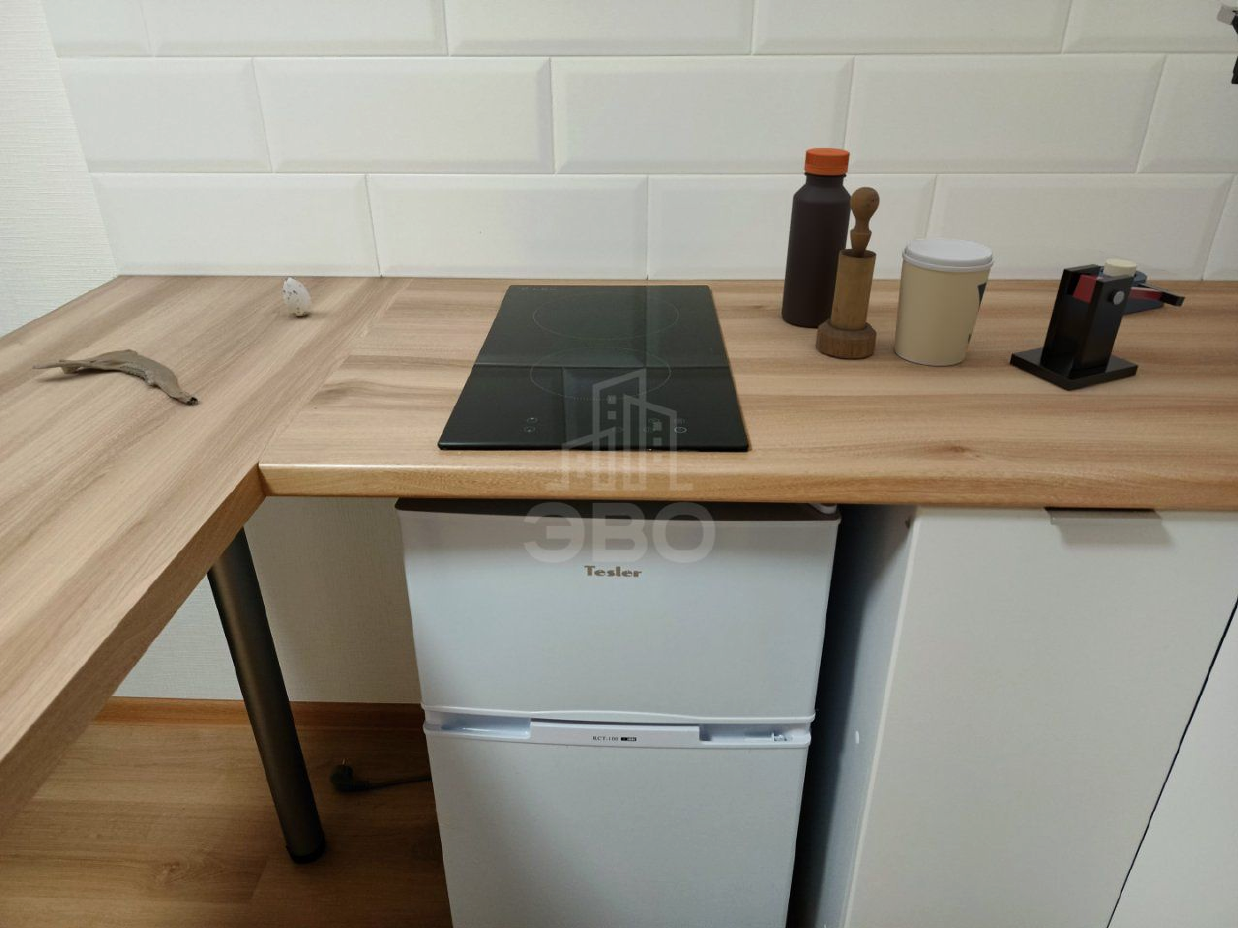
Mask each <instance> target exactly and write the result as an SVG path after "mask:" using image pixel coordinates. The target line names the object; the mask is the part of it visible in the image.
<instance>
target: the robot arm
mask: <svg viewBox="0 0 1238 928" xmlns="http://www.w3.org/2000/svg"><path fill="white" fill-rule="evenodd" d="M1219 3H1220V6H1221V7H1220V9H1219V11H1218V13H1217V15H1216V21H1218V22H1220V23H1223V24H1225V25H1228V26H1232V27H1233V29H1234V32H1235V33H1236V35H1237V36H1238V0H1219ZM1236 40H1237V42H1238V37H1237V38H1236ZM1230 83H1231V84H1232V85H1238V55H1237V56H1236V60H1235V63H1234V66H1233V69H1232V77H1231V81H1230Z"/></svg>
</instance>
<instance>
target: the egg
mask: <svg viewBox="0 0 1238 928" xmlns="http://www.w3.org/2000/svg"><path fill="white" fill-rule="evenodd" d="M282 297H283V302H284V306H285V308H286V309H287V311H289V313H291V314H292V315H293V316H298V317H303V316H306V315H308V314H309V313H310V311H311V309H312V304H313V303H312V298H311V295H310V294H309V291H308V290H307V288H306V287H305V286H304V285H303V284H302V283H301V282H300V281H298V280H295V279H294V278H292V277H290V276H289V277H286V278H285V280H284V281H283V287H282Z"/></svg>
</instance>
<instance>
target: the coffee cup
mask: <svg viewBox="0 0 1238 928" xmlns="http://www.w3.org/2000/svg"><path fill="white" fill-rule="evenodd" d="M993 255H994V253H993V251H992V249H991V248H989V247H988V246H985V245H983V244H981V243H977V242H976V241H975V242H974V241H969V240H966V239H965V240H964V239H958V238H949V237H926V238H918V239H914V240H911V241H909V242H908V243H906V246H905V248H903V250H902V253H901V257H902V262H901V263H902V265H901V272H900V274H901V275H900V281H899V292H898V303H897V313H896V323H895V333H894V352H895V354H896V355H897V356H898V357H900V358H902V359H904V360H906V361H909V362H912V363H915V364H920V365H925V366H934V367H945V366H946V367H947V366H954V365H957V364H959V363H961V362H963V361H964V359H965V358H966V354H967V351H968V349H969V345H970V342H971V340H972V339H971V338H972V335H973V333H974V329H975V325H976V322H977V319H978V315H979V312H980V309H981V308H980V307H981V304H982V301H983V297H984V294H985V291H986V288H987V283H988V279H989V276H990V272H991V268H992V267H993V265H994V263H995V257H994V256H993Z"/></svg>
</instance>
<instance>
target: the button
mask: <svg viewBox="0 0 1238 928" xmlns="http://www.w3.org/2000/svg"><path fill="white" fill-rule="evenodd" d="M1103 266H1104V270H1103V274H1105V275H1108V276H1112V277H1114V276H1120V275H1126V274H1127V275H1130V276H1134V274H1135V271H1136V270H1137V267H1138V264H1137V263H1136V262H1134V261H1132V260H1128V259H1121V258H1110V259H1109V258H1108V259H1106V260H1105V263H1104V265H1103Z"/></svg>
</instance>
